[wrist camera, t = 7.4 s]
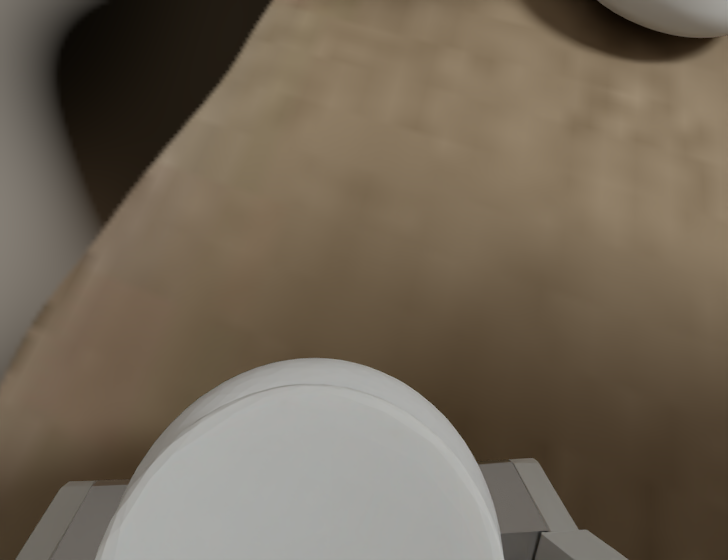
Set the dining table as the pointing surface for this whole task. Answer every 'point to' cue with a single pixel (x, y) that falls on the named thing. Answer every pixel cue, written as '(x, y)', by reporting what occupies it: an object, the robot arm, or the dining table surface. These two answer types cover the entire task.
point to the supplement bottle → (307, 475)
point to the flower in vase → (675, 16)
